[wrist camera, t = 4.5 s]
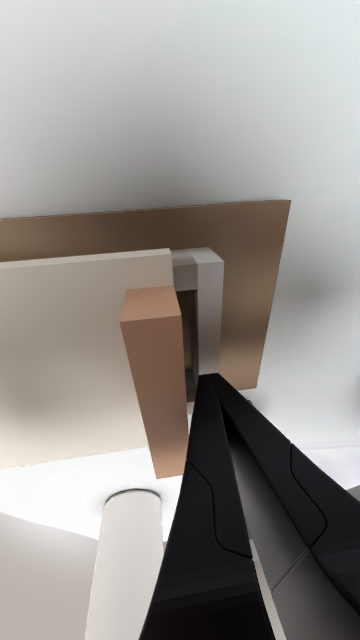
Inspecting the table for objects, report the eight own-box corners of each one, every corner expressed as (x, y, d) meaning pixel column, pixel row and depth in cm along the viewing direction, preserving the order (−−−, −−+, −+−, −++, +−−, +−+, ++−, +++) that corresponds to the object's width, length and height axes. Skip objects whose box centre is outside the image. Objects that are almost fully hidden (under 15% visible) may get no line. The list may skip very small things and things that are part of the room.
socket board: (250, 377, 16) (272, 418, 13) (-87, 423, 15) (-148, 482, 12) (279, 199, 10) (332, 201, 7) (-300, 240, 8) (-548, 265, 5)
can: (99, 492, 23) (58, 736, 13) (159, 484, 23) (167, 709, 13) (109, 516, 26) (83, 724, 16) (162, 508, 27) (169, 703, 17)
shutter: (183, 427, 12) (191, 483, 10) (0, 454, 11) (-40, 522, 9) (169, 248, 7) (179, 275, 5) (-166, 276, 6) (-357, 326, 4)
